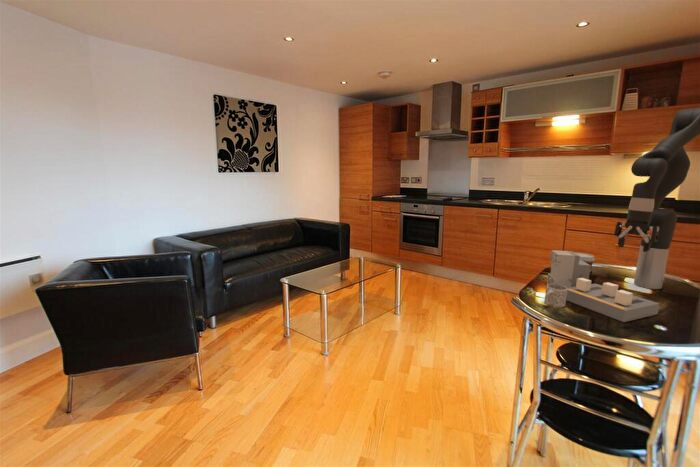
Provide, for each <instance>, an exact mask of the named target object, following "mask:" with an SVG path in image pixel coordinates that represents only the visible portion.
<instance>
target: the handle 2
mask: <svg viewBox="0 0 700 467" xmlns="http://www.w3.org/2000/svg"><path fill="white" fill-rule="evenodd" d="M633 295H634V293H633V292H630V291H627V290H624V289H620V290H619V289H618V291H616V295H615V301H614V302H616V303H619V304H622V305H625V306H626V305H631V302H632V297H633Z"/></svg>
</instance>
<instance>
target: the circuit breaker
mask: <svg viewBox="0 0 700 467" xmlns="http://www.w3.org/2000/svg"><path fill="white" fill-rule="evenodd" d="M576 253H577V252H575V251H571V250H555V249H554V250H553V249H551V253H550V255H549V256H550V257H549V261H550V262H551V266H550V272H549V273H548V274H547V282H546V283H547V284H546V285H548V284H558V285H562V286H565V287H567V288H571V287H576V282H577V279H578V278H585V279H588V280H590V274H593V271H592V269H591V270H590V266H591V265H589V264H587V263H586V262H584V261H582V260H579V258H580V256H579V255H577V254H576Z"/></svg>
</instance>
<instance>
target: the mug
mask: <svg viewBox="0 0 700 467" xmlns="http://www.w3.org/2000/svg"><path fill="white" fill-rule="evenodd" d="M566 296H567V287H565V286H562V285H558V284H546V287H545V294H544V304H545V305H547V306H549V305H550V307H553V306H554V307H553V308H564V307H566V303H567V300H566Z"/></svg>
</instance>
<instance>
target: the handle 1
mask: <svg viewBox="0 0 700 467" xmlns="http://www.w3.org/2000/svg"><path fill="white" fill-rule="evenodd" d="M591 284H592V280H591V279H589V280H588V279H585V278H578V279H577V282H576V285H575V287H576V289H578V290H581V291H584V292H586V291H590V288H591Z"/></svg>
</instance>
